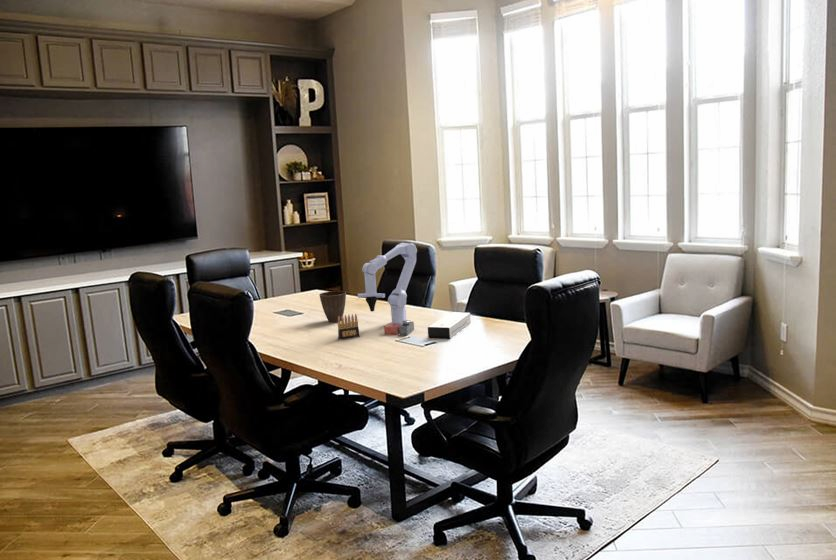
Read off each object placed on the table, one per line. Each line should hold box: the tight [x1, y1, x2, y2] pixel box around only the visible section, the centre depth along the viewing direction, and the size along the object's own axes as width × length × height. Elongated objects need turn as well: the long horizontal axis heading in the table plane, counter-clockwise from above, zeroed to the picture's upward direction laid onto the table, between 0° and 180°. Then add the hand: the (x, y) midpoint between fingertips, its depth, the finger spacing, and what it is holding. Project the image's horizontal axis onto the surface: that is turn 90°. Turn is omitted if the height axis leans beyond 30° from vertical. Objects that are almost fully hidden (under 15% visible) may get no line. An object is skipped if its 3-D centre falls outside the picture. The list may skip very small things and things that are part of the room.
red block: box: [383, 322, 402, 336], centre depth 350 cm, size 8×7×4 cm
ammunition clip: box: [337, 313, 361, 340], centre depth 343 cm, size 11×2×12 cm, turn 112°
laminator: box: [427, 311, 472, 340], centre depth 347 cm, size 34×12×6 cm, turn 158°
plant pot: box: [319, 290, 347, 323], centre depth 384 cm, size 15×15×16 cm
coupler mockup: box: [398, 319, 415, 337], centre depth 349 cm, size 12×11×6 cm
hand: (372, 311), depth 360 cm, fingers closed
